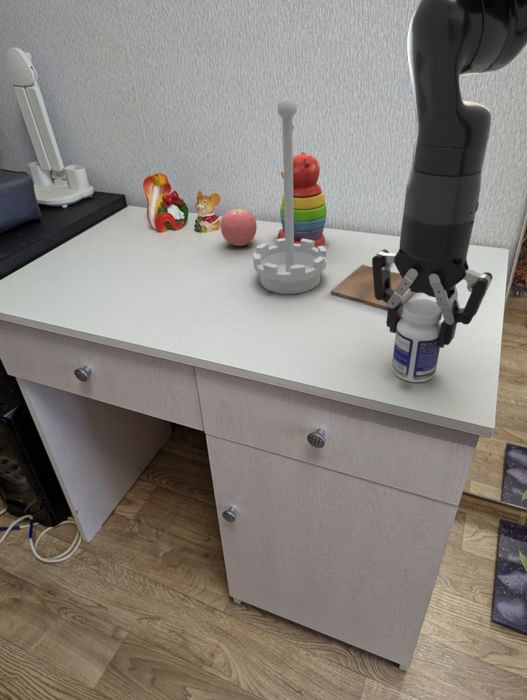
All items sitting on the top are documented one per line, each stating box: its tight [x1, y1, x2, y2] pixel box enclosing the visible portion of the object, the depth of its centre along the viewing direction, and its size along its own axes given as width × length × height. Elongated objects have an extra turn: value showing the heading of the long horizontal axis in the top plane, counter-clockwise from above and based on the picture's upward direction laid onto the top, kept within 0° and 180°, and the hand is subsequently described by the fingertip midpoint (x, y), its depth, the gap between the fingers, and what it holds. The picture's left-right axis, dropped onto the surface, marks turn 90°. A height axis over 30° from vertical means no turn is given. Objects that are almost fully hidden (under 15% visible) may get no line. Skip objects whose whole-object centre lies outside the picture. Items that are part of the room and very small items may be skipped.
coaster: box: [330, 264, 415, 311], centre depth 86 cm, size 12×12×1 cm
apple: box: [219, 208, 258, 247], centre depth 102 cm, size 7×7×8 cm
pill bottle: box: [391, 298, 443, 383], centre depth 64 cm, size 6×6×10 cm
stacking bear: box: [277, 151, 328, 248], centre depth 98 cm, size 11×10×18 cm
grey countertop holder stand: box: [252, 97, 328, 295], centre depth 82 cm, size 13×13×30 cm
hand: (418, 336), depth 64 cm, fingers closed on pill bottle, 5 cm apart
